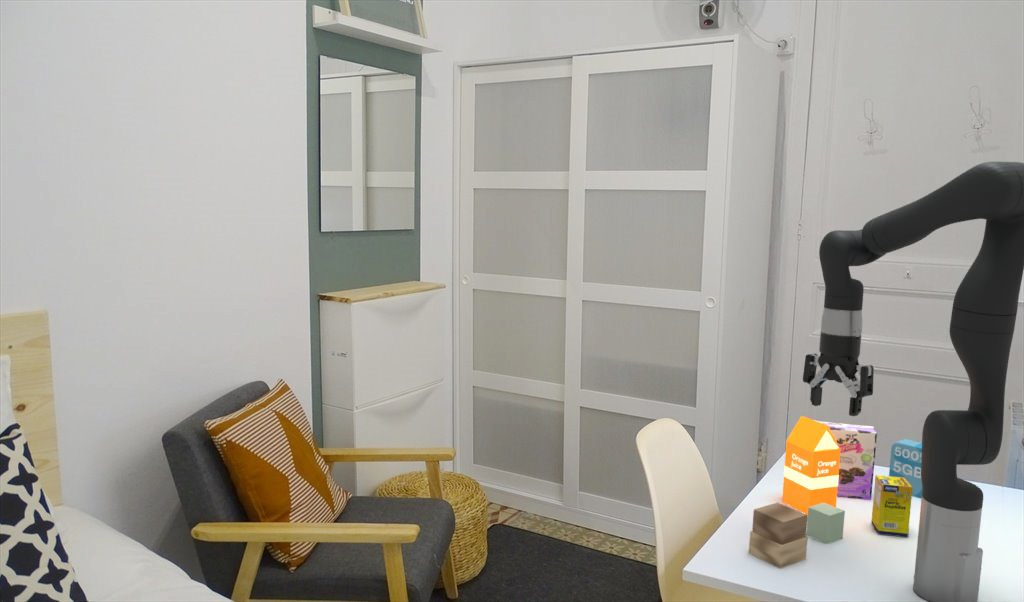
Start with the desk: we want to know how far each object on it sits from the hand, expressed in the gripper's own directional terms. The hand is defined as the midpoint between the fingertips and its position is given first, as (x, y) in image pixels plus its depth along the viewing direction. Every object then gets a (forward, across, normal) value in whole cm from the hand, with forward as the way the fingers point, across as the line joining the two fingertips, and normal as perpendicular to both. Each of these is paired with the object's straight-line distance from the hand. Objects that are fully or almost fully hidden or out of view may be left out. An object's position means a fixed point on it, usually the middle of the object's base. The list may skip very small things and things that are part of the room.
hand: (834, 410), depth 159 cm
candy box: (+27, -14, +25) cm, 39 cm away
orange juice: (+27, -12, +11) cm, 32 cm away
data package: (+27, -4, +41) cm, 49 cm away
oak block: (+27, +1, -16) cm, 31 cm away
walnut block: (+22, +1, -16) cm, 27 cm away
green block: (+27, 0, 0) cm, 27 cm away
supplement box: (+27, +5, +15) cm, 31 cm away
